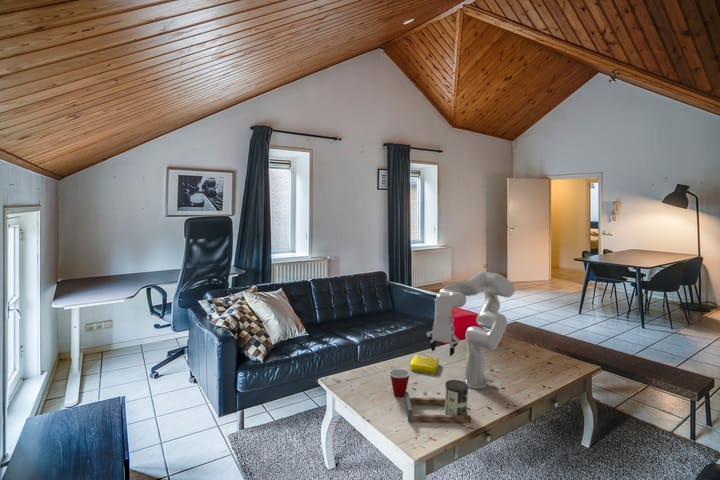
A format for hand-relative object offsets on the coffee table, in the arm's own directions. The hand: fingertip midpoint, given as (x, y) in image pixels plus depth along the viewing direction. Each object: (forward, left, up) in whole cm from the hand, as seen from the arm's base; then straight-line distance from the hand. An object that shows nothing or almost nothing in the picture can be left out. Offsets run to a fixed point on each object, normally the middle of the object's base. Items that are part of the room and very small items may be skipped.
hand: (442, 352), depth 190 cm
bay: (+4, +12, -25) cm, 28 cm away
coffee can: (-5, +12, -25) cm, 28 cm away
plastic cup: (+20, -4, -25) cm, 32 cm away
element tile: (+2, -37, -25) cm, 45 cm away
